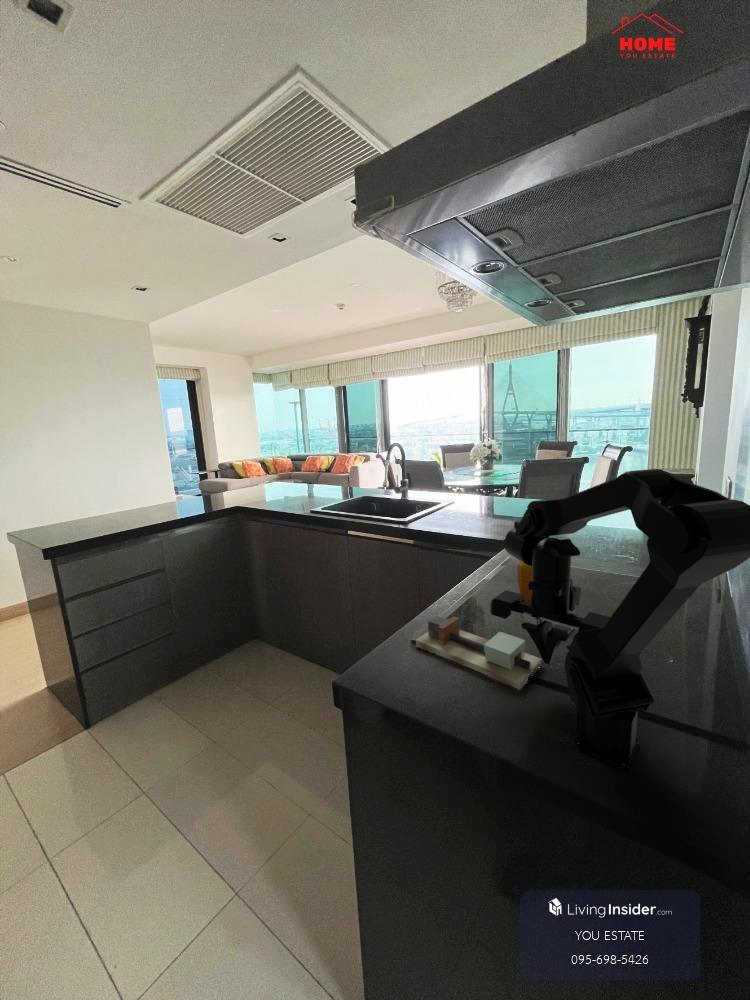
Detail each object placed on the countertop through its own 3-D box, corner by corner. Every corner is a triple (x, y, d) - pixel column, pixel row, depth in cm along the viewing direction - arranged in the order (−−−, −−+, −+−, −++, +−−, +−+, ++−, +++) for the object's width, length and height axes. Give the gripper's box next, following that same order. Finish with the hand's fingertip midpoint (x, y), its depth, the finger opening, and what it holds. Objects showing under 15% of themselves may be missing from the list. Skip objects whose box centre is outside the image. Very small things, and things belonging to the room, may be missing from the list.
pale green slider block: (525, 656, 76) (525, 640, 75) (510, 671, 72) (510, 654, 71) (499, 646, 79) (499, 631, 79) (483, 660, 75) (483, 644, 74)
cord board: (541, 666, 76) (542, 640, 75) (520, 690, 69) (520, 663, 68) (441, 629, 91) (440, 607, 90) (416, 646, 84) (415, 623, 83)
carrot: (540, 612, 96) (541, 550, 93) (517, 610, 97) (518, 549, 94) (537, 603, 101) (539, 543, 98) (516, 601, 102) (517, 543, 99)
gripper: (629, 573, 66) (623, 661, 69) (517, 552, 79) (516, 627, 82) (609, 596, 58) (603, 695, 61) (488, 569, 71) (488, 651, 74)
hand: (548, 663), depth 70 cm, fingers closed
